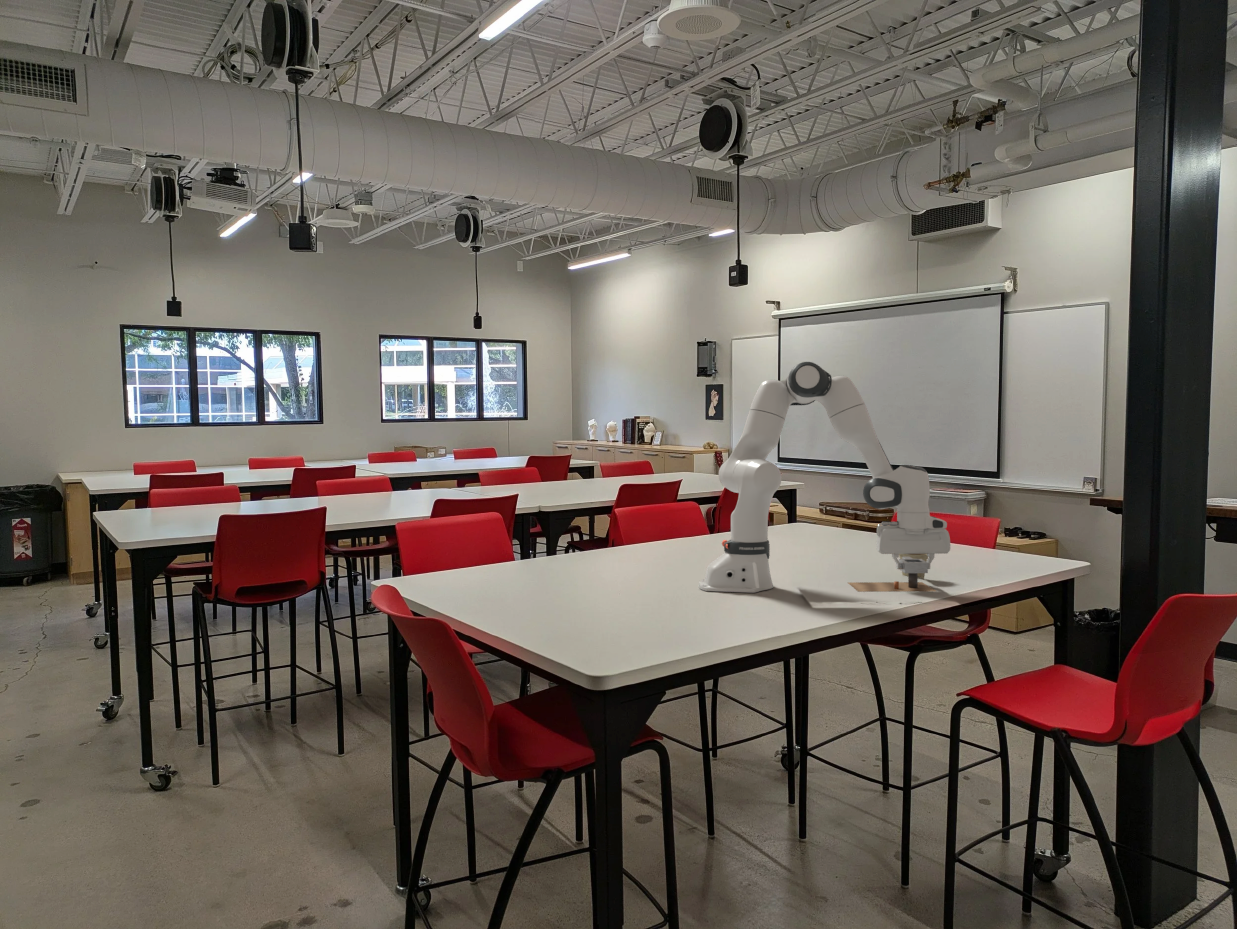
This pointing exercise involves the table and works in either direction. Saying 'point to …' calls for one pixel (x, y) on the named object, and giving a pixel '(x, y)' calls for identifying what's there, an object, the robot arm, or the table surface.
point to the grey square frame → (913, 565)
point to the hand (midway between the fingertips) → (913, 568)
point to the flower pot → (915, 556)
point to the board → (892, 585)
